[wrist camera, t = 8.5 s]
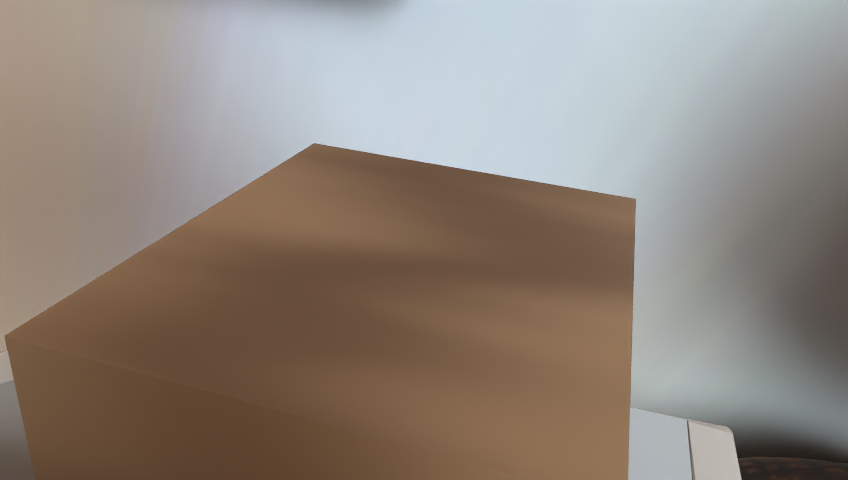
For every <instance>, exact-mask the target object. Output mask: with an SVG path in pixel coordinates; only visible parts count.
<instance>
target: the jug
mask: <svg viewBox="0 0 848 480" xmlns="http://www.w3.org/2000/svg"><path fill="white" fill-rule="evenodd" d="M738 464H739V469H740V474H741V479H742V480H848V463H840V462H832V461H823V460H815V459H806V458H783V457H748V458H738Z"/></svg>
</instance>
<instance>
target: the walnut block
mask: <svg viewBox="0 0 848 480" xmlns="http://www.w3.org/2000/svg"><path fill="white" fill-rule="evenodd" d="M635 208H636V199H632V198H627V197H621V196H615V195H609V194H604V193H598V192H592V191H586V190H580V189H575V188H569V187H563V186H557V185H552V184H546V183H540V182H534V181H528V180H523V179H517V178H511V177H505V176H500V175H494V174H488V173H482V172H476V171H471V170H465V169H459V168H453V167H448V166H442V165H436V164H430V163H424V162H419V161H413V160H407V159H401V158H395V157H390V156H384V155H378V154H372V153H367V152H361V151H355V150H349V149H343V148H338V147H332V146H326V145H320V144H315V143H314V144H312V145H311V146H309V147H308V148H306V149H304V150H303V151H301V152H300V153H298V154H296V155H295V156H293V157H292V158H290V159H288V160H287V161H285V162H283V163H282V164H280V165H279V166H277V167H275V168H274V169H272V170H271V171H269V172H267V173H266V174H264V175H263V176H261V177H259V178H258V179H256V180H255V181H253V182H251V183H250V184H248V185H247V186H245V187H243V188H242V189H240V190H238V191H237V192H235V193H234V194H232V195H230V196H229V197H227V198H226V199H224V200H222V201H221V202H219V203H218V204H216V205H214V206H213V207H211V208H210V209H208V210H206V211H205V212H203V213H202V214H200V215H198V216H197V217H195V218H193V219H192V220H190V221H189V222H187V223H185V224H184V225H182V226H181V227H179V228H177V229H176V230H174V231H173V232H171V233H169V234H168V235H166V236H165V237H163V238H161V239H160V240H158V241H157V242H155V243H153V244H152V245H150V246H148V247H147V248H145V249H144V250H142V251H140V252H139V253H137V254H136V255H134V256H132V257H131V258H129V259H128V260H126V261H124V262H123V263H121V264H120V265H118V266H116V267H115V268H113V269H112V270H110V271H108V272H107V273H105V274H103V275H102V276H100V277H99V278H97V279H95V280H94V281H92V282H91V283H89V284H87V285H86V286H84V287H83V288H81V289H79V290H78V291H76V292H75V293H73V294H71V295H70V296H68V297H67V298H65V299H63V300H62V301H60V302H58V303H57V304H55V305H54V306H52V307H50V308H49V309H47V310H46V311H44V312H42V313H41V314H39V315H38V316H36V317H34V318H33V319H31V320H30V321H28V322H26V323H25V324H23V325H22V326H20V327H18V328H17V329H15V330H13V331H12V332H10V333H9V334H7V335H5V341H6V346H7V350H8V355H9V359H10V364H11V369H12V373H13V378H14V383H15V387H16V392H17V397H18V401H19V406H20V411H21V415H22V420H23V425H24V429H25V434H26V439H27V443H28V448H29V453H30V457H31V462H32V467H33V471H34V476H35V480H628V465H629V428H630V392H631V355H632V318H633V282H634V245H635Z"/></svg>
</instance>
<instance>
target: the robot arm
mask: <svg viewBox="0 0 848 480" xmlns="http://www.w3.org/2000/svg"><path fill="white" fill-rule="evenodd" d="M0 480H35V476H34V471H33V467H32V462H31V457H30V453H29V448H28V443H27V439H26V434H25V429H24V425H23V420H22V415H21V411H20V406H19V401H18V397H17V392H16V387H15V383H14V378H13V373H12V369H11V364H10V359H9V355H8V350H7V351H3V352H0ZM628 480H742V479H741V474H740V469H739V464H738V458H737V453H736V448H735V443H734V437H733V432H732V431H731V430H730V429H729V428H728V427H726V426H721V425H716V424H712V423H707V422H702V421H697V420H692V419H687V418H685V419H682V418H678V417H674V416H669V415H665V414H660V413H656V412H652V411H647V410H643V409H638V408H634V407H630V428H629V465H628Z"/></svg>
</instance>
